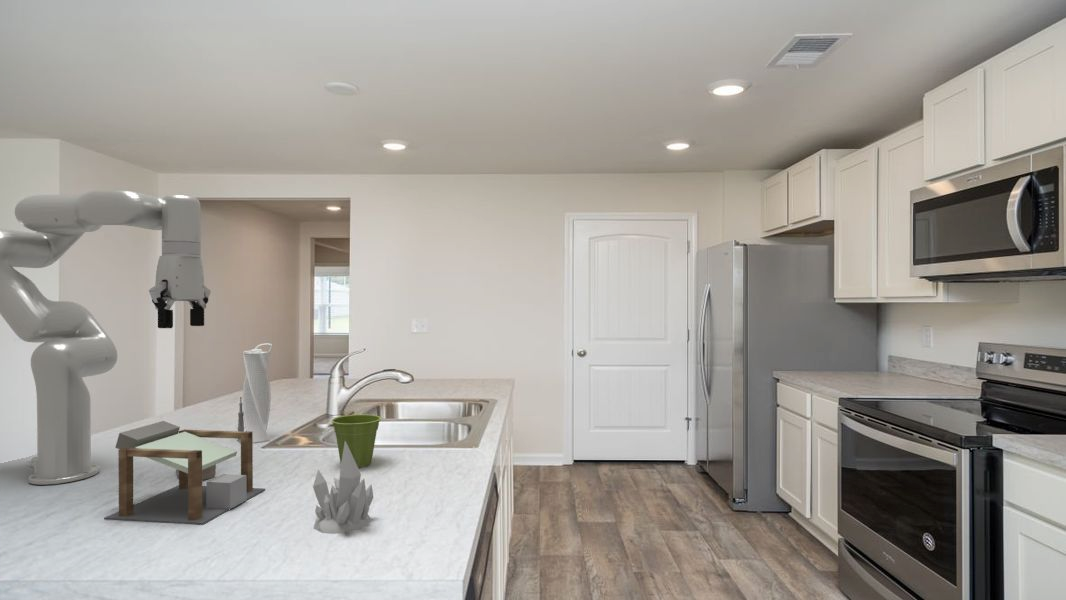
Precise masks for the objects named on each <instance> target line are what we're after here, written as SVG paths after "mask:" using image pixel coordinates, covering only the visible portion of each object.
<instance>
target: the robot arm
mask: <svg viewBox="0 0 1066 600" xmlns="http://www.w3.org/2000/svg"><path fill="white" fill-rule="evenodd" d="M14 215H15V218H16V220H17V221H18V223H19V224H20V225H22V226H23V227H24V228H26V229H28V230H30V231H34V232H29V231H20V230H13V229H4V228H2V229H1V228H0V316H1V317H2V318H3V319H4V321H5V322H6V323H7V325H8V326H9V327H10V329H11V330H12V331H13V333H14V334H15V335H16V336H17V337H18V338H19V339H21V340H22V341H24V342H26V343H37V344H38V343H40V344H39V345H38V346H37V347H35V349H33V352H32V354H31V357H30V368H31V372H32V377H33V379H34V385H35V392H36V422H37V424H36V425H37V428H36V431H37V432H36V433H37V434H36V436H37V437H36V439H37V440H36V442H37V444H36V445H37V446H36V447H37V448H36V449H37V452H36V453H37V456H34V457H32V459H31V460H30V461H27V462H26V463H25V468H27V469H29V468H30V469H31V468H33V473H32V474H30V475H29V476H28V477H27V478H28V479H27V480H28V483H30V484H31V485H36V486H37V485H38V486H39V485H57V484H58V485H59V484H65V483H71V482H76V481H81V480H83V479H87V478H90V477H92V476H96V474H98V473H99V472H100V466H99V465H97V464H93V463H92V461H91V460H92V459H91V457H92V453H91V449H92V447H91V446H92V445H91V441H92V439H91V436H92V435H91V432H92V431H91V425H92V423H91V394H90V391H89V389H88V387H87V385H86V384H85V381H84V380H83V378H86V377H92V376H96V375H97V376H99V375H102V374H104V373H108V372H110V371H111V370H112V369H113V368H114V367H115V366H116V363H117V361H118V351H117V347H116V345H115V343H114V342H113V340H112V339H111V337H109V335H108V333H107V332H106V331H105V330H104V328H103V327H102V326H101V324H100V323H99V322H98V321H97V319H96V318H95V316H94V315H93V314H92V313H91V312H90V310H88V308H86V307H84V306H83V305H82V304H80V303H77V302H74V301H67V300H66V301H64V300H62V301H59V300H58V301H55V300H50V299H48V298H47V297H46V296H45V295H44V294H43V293H42V292H41V291H40V290H39V288H38V287H37V285H36V284H35V283H34V282H33V281H32V280H31V279H30V278H28V277H27V276H26V275H24V274H23V273H21V272H19V271H18V270H17V269H15V268H23V269H24V268H26V269H27V268H28V269H30V268H31V269H42V268H43V269H44V268H47V267H49V266H51V265H53V264H55V263H56V262H57V261H58V260H59V259H60V258H62V256H64V255H65V253H66V252H67V251H68V250H69V249H70V248H71V247H72V246H73V245H74V244H75V243H77V241H78V240H80V238H81V237H82V236H83V235H84V234H85V233H91V232H93V233H94V232H96V231H98V230H100V229H101V228H102V227H103V226H128V227H134V228H141V229H147V230H153V231H161V255H159V257H158V261H157V264H156V271H155V272H156V274H155V283H154V284H155V285H154V286H153V287H151V288H149V290H148V292H149V295H150V298H151V302H152V304H153V305H154V308H155V310H156V311H157V328H158V329H173V327H174V311H173V310H174V309H171V308H172V306H173V305H174V304H175V302H188V304H189V305H190V306H191V307H192V308H190V309H189V325H190V326H191V327H204V326H205V309H206V308H207V304H208V303H209V298H210V294H211V290H210V289H209V288H208V287H207V286H205V277H204V269H203V268H204V267H203V261H202V257H201V255H202V254H201V253H202V251H201V250H202V249H201V248H202V247H201V246H202V245H201V244H202V243H201V239H202V237H201V233H202V231H201V228H202V227H201V226H202V225H201V219H202V218H201V217H202V216H201V201H199V199H198V198H197V197H194V196H191V195H186V194H184V195H183V194H169V195H165V196H164V197H158V196H154V195H150V194H147V193H143V192H139V191H134V190H133V191H131V190H119V189H117V190H115V189H113V190H110V189H109V190H105V189H104V190H103V189H102V190H90V191H88V192H85V193H80V194H79V193H78V194H75V193H74V194H36V195H30V196H27V197H24V198H23V199H21V200H19V201H18V202H17V204H16V206H15V208H14Z"/></svg>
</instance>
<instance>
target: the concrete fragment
mask: <svg viewBox="0 0 1066 600" xmlns="http://www.w3.org/2000/svg"><path fill="white" fill-rule="evenodd" d="M216 469H217V464H215V465H213V466H211V467H208V468H206V469H203V470H202V481H205V480H212V479H214V478H215V476H216ZM176 473H177V477H179V470H178V469H176Z"/></svg>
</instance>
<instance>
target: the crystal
mask: <svg viewBox="0 0 1066 600" xmlns="http://www.w3.org/2000/svg"><path fill="white" fill-rule="evenodd" d="M361 477H362V473H361V471H360V469H359V467H357V464H356V462H355V460H354V458H353V456H352V454H351V451H350V449H349V447H348V445H347V443H346V441H345V443H344V449H343V455H342V462H341V463H340V469H339V479H338V478H335V477H333V480H334V481H333V482H334V485H335V486H334V485H333V484H332V485H331V488H330V491H329V488H328V483H327V480H326V479H325V477H324V476H323V475H322V472H321V471H320V469H318V470H317V472H316V476H315V479H314V483H313V485H312V488H313V491H314V494H315V497H316V499H317V502H318V504H319V506H318V505H317V504H316V506H315V510H314V513H315V516H316V519H315V521H314V525H313V530H316V531H318V532H320V533H322V534H329V535H330V534H331V535H336V534H345V533H350V532H353V531H357V530H361V529H363V528H364V527H366V526H368V525H369V524H371V516H370V515H369V510H370V506H371V504H372V502H373V500H374V491H373V487H372V484H370V485H369V486H368V488H367V489H366V481H365V478H363V479H362V480H361Z"/></svg>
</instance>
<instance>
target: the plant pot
mask: <svg viewBox="0 0 1066 600" xmlns="http://www.w3.org/2000/svg"><path fill="white" fill-rule="evenodd" d="M381 420H382V417H381V416H379V415H375V414H364V413H363V414H360V413H359V414H346V415H341V416H337V417H334V418H331V419H330V422H331V424H333V430H334V432H335V436H336V444H337V448H338V456H339V461H340V464H341V462H342V455H343V449H344V443H345V441H346V443H347V445H348V447H349V449H350V451H351V454H352V456H353V458H354V460H355V462H356V464H357V467H358V468H361V467H368V466H370V465H371V464H372V461H373V456H374V449H375V444H376V438H377V437H376V436H377V433H378V430H379V425H380V421H381Z"/></svg>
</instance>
